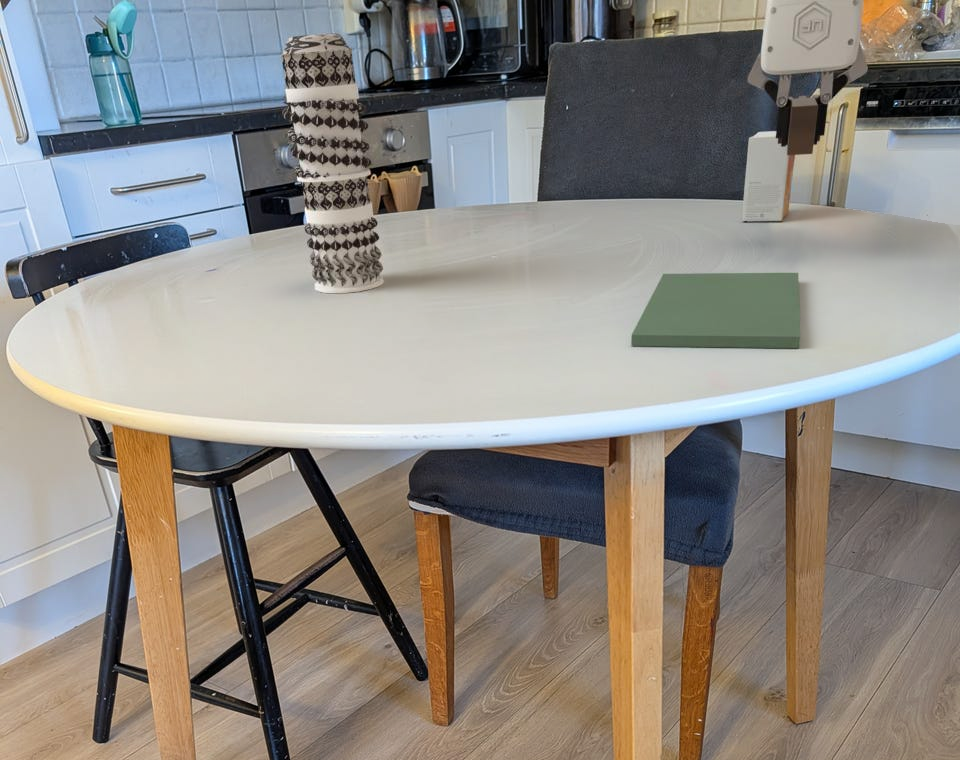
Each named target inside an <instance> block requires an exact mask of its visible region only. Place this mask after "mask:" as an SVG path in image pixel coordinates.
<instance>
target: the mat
mask: <svg viewBox="0 0 960 760" xmlns="http://www.w3.org/2000/svg"><path fill="white" fill-rule="evenodd" d="M799 281H800V280H799V272H730V273H729V272H720V273H719V272H718V273H717V272H714V273H713V272H708V273H662V275H661V277H660V279H659V282H658V283H657V285H656V287H655V289H654V290H653V292H652V295H651V296H650V299H649V300H648V302H647V305H646V306H645V308H644V310H643V312H642V314H641V316H640V318H639V319H638V321H637V323H636V325H635V328H634V329H633V331H632V333H631V339H630V340H631V342H630V343H631V347H665V348H667V347H668V348H669V347H670V348H671V347H673V348H675V347H677V348H736V349H737V348H743V349H747V348H748V349H750V348H751V349H799V348H800V341H801V320H800V319H801V317H800V286H799V285H800V284H799V283H800V282H799Z"/></svg>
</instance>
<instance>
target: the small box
mask: <svg viewBox="0 0 960 760" xmlns="http://www.w3.org/2000/svg"><path fill="white" fill-rule="evenodd" d="M746 156H747V157H746V168H745V179H744V188H743V199H742V201H743V203H742V213H741V214H742V215H741V221H742V222H743V221H747V222H781V221H783V220H784V218H785V217H786V215H787V214H789V211H790V201H791V192H792V185H793V174H794V168H795V167H794V166H795V159H796V155H787V145H786V147H781V144H778V138H777V139H776V130H769V131H768V130H767V131H758V132H757V133H755V134H754V135H753V136H750V137H748V144H747V154H746Z"/></svg>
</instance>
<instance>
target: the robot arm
mask: <svg viewBox="0 0 960 760" xmlns="http://www.w3.org/2000/svg"><path fill="white" fill-rule="evenodd" d="M863 11H864V0H767V1H766V8H765V14H764V15H765V17H764V22H763V31H762V40H761V49H760V52H759V54H758V56H757V57H756V59H755V61H754V64H753V66H752V68H751V70H750V71H749V73H748V75H747V77H746V79H747V83H748V84H750V85H751V86H753V87H757V88H758V89H760V90H761V91H764V92H765V93H766V94H767V95H768V96H769V97H770V98H771V100H772V101H773V102H774V103H775V104H776V106H777V107H778V110H777V120H776V130H775V131H776V139H777V138H782V142H781V147H786V145H787V142H788V133H789V123H790V113H791V107H790V99H789V98H788V97H789V94H790V88H791V82H792V76H793V75H794V74H806V73H807V74H808V73H819V72H820V86H819V94H818V95H819V97H818V98H817V104H818V111H817V119H816V128H815V137H814V145H813V146H816V145H818V142H817V140H818V136H820V137H822V136H823V137H824V136H825V132H826V124H827V115H828V107H829V103H830V102H832V100H833V99H834V97H836V96H837V95H838V94H839V93H840V92H841V90H843V88H844V87H845V86H847V85H848V84H850V83H852V82H854V81H856V80H857V79H859V78H861V77H862V76H864V75H866V73H868V69H869V67H868V64H867V61H866V57H865V55H864V51H863V48H862V45H861V41H860V40H861V32H862V31H861V30H862V22H863ZM849 66H851V67H850V68H849ZM846 68H849V69H847V70H846V71H844V72H842V73H841V74H839V75H837V76H836V77H835V78H834V71H839V70H844V69H846ZM764 73H765V74H769V75H773V76H776V75H777V76H778V75H779V80H778V81H779V82H778V84H777V82H776V81H774V79H771V78H769V77H767V76H765V75H764Z"/></svg>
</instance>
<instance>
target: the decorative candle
mask: <svg viewBox="0 0 960 760" xmlns="http://www.w3.org/2000/svg"><path fill="white" fill-rule="evenodd" d="M279 57H281V61H282V68H283V75H284V80H285V87H286V88H285V89H284V91H285V97H286V100H285V101H282V102H283V104H285V105H286V107H285V108H284V109H283V110H282V113H281V114H282V117H283V119H285V120H286V121H288V122H290V123H291V122H292V123H293V124H292V126H291V127H290V128H289V130H288V131H287V133H286V136H287V138H288V140H290V141H291V142H292V143H293V145H291V147H290V148H289V152H290V155H291V156H292V157H293V158H296V160H299V163H297V165H296V167H295V168H294V169H293V170H294V173H295V175H296V181H297V182H299V183H300V182H301V186H302V193H303V199H304V205H305V207H304V214H305V215H304V216H305V220H306V223H307V224H306V225H305V226H304V232H305V233H306V234H307V235H309V236H310V238H308V240H307V241H306V244H307V247H308V248H309V249H312V253H311V254H310V255H309V259H308V260H309V263H310V264H311V266H312V267H313V268H312V270H311V276H312V277H313V279H314V280H315V281H316V282H315V283H314V290H315V291H316V292H318V293H325V294H349V293H358V292H364V291H369V290H372V289H375V288H378V287H380V286H382V285H383V284H384V283H385V280H384V277H383V276H382V275H380V274H381V273H382V272H383V270H384V267H383V264H382V262H381V261H379V260H380V259H381V257H382V252H381V249H380V248H379V247H378V246H376V242H378V241H379V240H380V235H379V234H378V233H377V231H374V229H375V228H377V227H378V221H377V219H376V218H375V217H374V209H373V202H372V201H371V196H370V189H369V182H368V176H370V175H371V174H372V172H371V170H370V168H368V167H370V166H371V165H372V160H371V159H370V158H368V157H367V156H366V155H364V154H366V153H367V152H368V151H369V150H370V144H369V143H368V142H367V141H365V140H364V139H363V138H362V135H363V134H364V132H366V131H367V130H368V128H369V124H368V123H367V122H366V121H365V120H363V119H362V117H363V115H365V114H366V113H367V107H366V106H365V105H364V104H362V103H361V102H360V100H358V99H360V94H359V87H358V85H359V84H358V83H357V82H356V75H355V66H354V60H353V49H352V48H350V47H349V45H348V44H347V42H346V40H345V39H344V37H343V36H342V35H340V34H339V33H320V34H319V33H317V34H306V35H296V36H290V37H288V39H287V40H286V43H285V46H284V50H283V52H282V54H280V55H279Z"/></svg>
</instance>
